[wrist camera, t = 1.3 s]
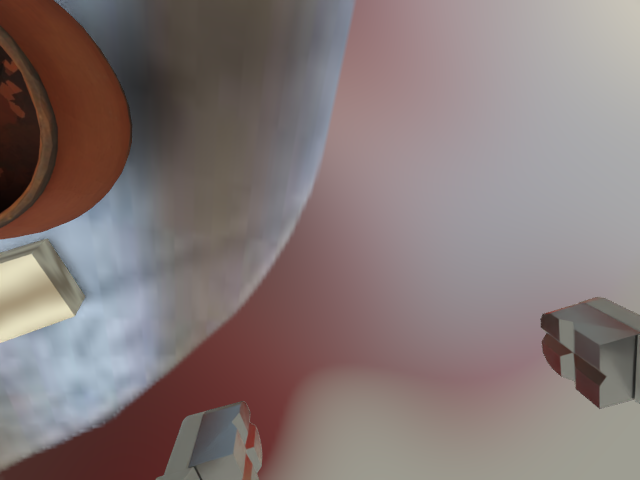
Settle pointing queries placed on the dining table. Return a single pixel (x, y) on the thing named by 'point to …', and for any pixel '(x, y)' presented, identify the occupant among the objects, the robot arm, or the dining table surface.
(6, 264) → the birch block
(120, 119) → the goblet
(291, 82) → the dining table surface
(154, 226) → the dining table surface
